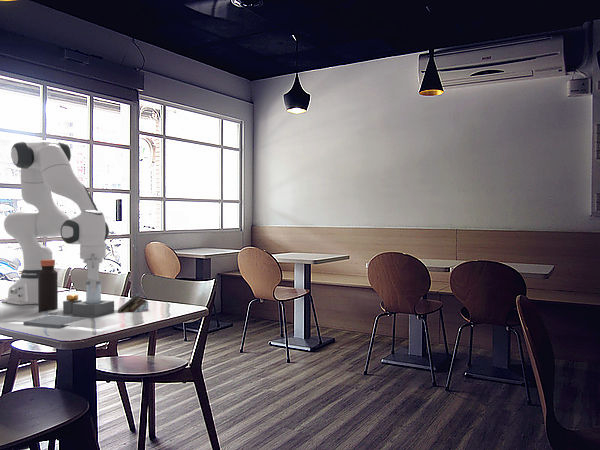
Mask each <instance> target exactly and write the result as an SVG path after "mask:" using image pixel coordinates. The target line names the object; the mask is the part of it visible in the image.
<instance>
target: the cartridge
mask: <svg viewBox="0 0 600 450" xmlns="http://www.w3.org/2000/svg"><path fill="white" fill-rule="evenodd" d="M85 284H86V285H85V286H86V288H85V289H86V292H85V293H86V300H85V301H86V304H98V303H101V300H102V299H101V297H102V289H101V288H102V280H101V279H98V281H96V292H95V293H91V292H90V281H88V280H86V281H85Z"/></svg>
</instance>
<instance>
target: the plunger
mask: <svg viewBox="0 0 600 450" xmlns="http://www.w3.org/2000/svg"><path fill="white" fill-rule="evenodd" d="M67 300H70V302H73V301H75V300H79V295H78V294H69V295H67V294H66V301H67Z"/></svg>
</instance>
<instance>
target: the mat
mask: <svg viewBox="0 0 600 450" xmlns="http://www.w3.org/2000/svg"><path fill="white" fill-rule="evenodd" d="M86 319H88V318H81V317H70V316H59V315H49V316H43V317H38V318H35V319H29V320H26V321H23V325H24V326H35V327H42V328H43V327H45V328H56V329H63V328H67V327H70V326H71V325H67V324H71V323H75V322H79V321H83V320H86Z"/></svg>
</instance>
